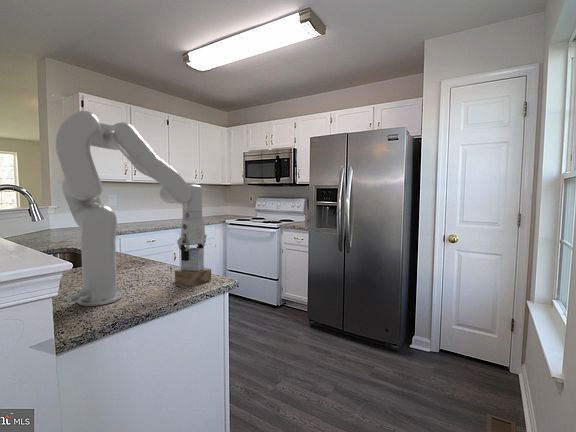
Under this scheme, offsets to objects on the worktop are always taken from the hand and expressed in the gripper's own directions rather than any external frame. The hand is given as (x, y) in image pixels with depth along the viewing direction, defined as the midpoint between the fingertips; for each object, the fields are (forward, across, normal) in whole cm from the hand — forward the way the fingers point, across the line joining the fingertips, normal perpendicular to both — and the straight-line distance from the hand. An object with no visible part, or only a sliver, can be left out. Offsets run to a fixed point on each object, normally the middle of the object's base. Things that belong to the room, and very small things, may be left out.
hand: (192, 258), depth 125 cm
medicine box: (+5, 0, 0) cm, 5 cm away
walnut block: (+10, 0, 0) cm, 10 cm away
